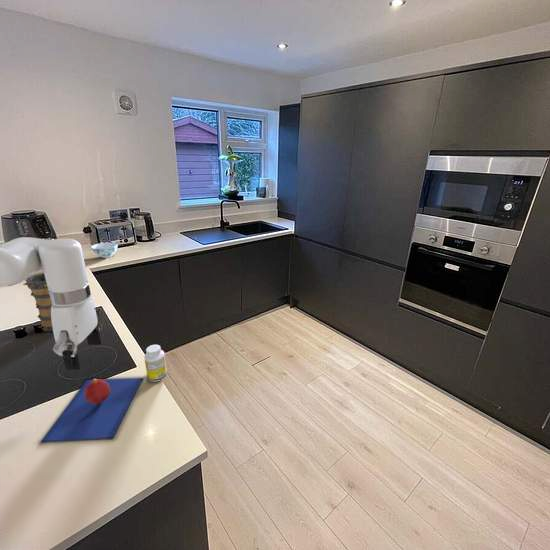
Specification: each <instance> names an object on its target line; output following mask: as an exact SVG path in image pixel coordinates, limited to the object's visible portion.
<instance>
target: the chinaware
mask: <svg viewBox="0 0 550 550" xmlns="http://www.w3.org/2000/svg"><path fill="white" fill-rule="evenodd" d="M118 247H119V246H118V243H117V242H100V243H96V244H93V245H91V250H92V251H93V253H95V255H97V256H99V257H100V258H101V259H110V258H112V257H113V256H114V254H116V252H117V251H118Z"/></svg>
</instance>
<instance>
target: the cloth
mask: <svg viewBox="0 0 550 550" xmlns="http://www.w3.org/2000/svg"><path fill="white" fill-rule="evenodd" d="M100 379H101V380H104V381H106V382H107V383H108V384H109V386H110V394H109V396H108V397H107V398H106V399H105V400H104V401H103V402H102V403H100V404H92V403H90V402H88V401H87V400H86V398H85V395H84V393H85V389H86V387H87V386H88V384H89V383H90V382H92V381H93V379H86V381H85V382H84V383H83V384H82V386H81V387H80V389H79V390H78V391H77V392H76V394H75V395H74V397H73V398H72V399H71V400H70V401H69V403H68V404H67V406H66V407H65V409H64V410H63V411H62V412H61V414H60V415H59V417H58V418H57V419H56V421H55V422H54V423H53V424H52V426H51V427H50V428H49V430H48V431H47V432H46V434H45V435H44V437H43V438H42V439H41V443H42V442H43V443H47V442H64V441H68V442H69V441H86V440H88V441H89V440H106V439H109V440H110V439H114V438H115V436H116V434H117V432H118V430H119V428H120V426H121V424H122V422H123V421H124V418H125V416H126V414H127V412H128V410H129V408H130V406H131V403H132V402H133V400H134V398H135V396H136V394H137V392H138V390H139V388H140V386H141V384H142V382H143V380H144V378H143V377H134V378H133V377H132V378H130V377H129V378H106V379H105V378H100Z"/></svg>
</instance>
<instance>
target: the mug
mask: <svg viewBox="0 0 550 550" xmlns="http://www.w3.org/2000/svg"><path fill="white" fill-rule="evenodd" d="M22 285H23V286H27V288H28V289H30V291H31V292H30V296H31V297H33V298H34V300H35V308H36V309H38V313H39V314H38V315H37V318H38V319H39V320H40V323H39V325H41V326H39V325H38V326H39V327H38V328H41V330H42V331H43V332H53V327H52V321H51V306H52V305H53V304H52V302H51V298H50V294H49V291H48V286H47V283H46V279H45V275H44V272H43V273H38V274H37V273H36V274H34V275H30V276H29V277H27V278H26V279H25V283H23V284H22ZM42 327H43V328H42Z"/></svg>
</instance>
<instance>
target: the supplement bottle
mask: <svg viewBox="0 0 550 550" xmlns="http://www.w3.org/2000/svg"><path fill="white" fill-rule="evenodd" d="M145 352H146V353H145V355H144V357H143V359H144V364H145V370H146V374H147V375H146V376H147V379H148V380H149V381H150V382H161V381H162V380H164V379H165V378H166V377H167V375H168V370H167V362H166V353H165V351H164V350H162V348H161V345H159V344H151V345H148V347H146V349H145ZM160 379H161V380H160Z"/></svg>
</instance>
